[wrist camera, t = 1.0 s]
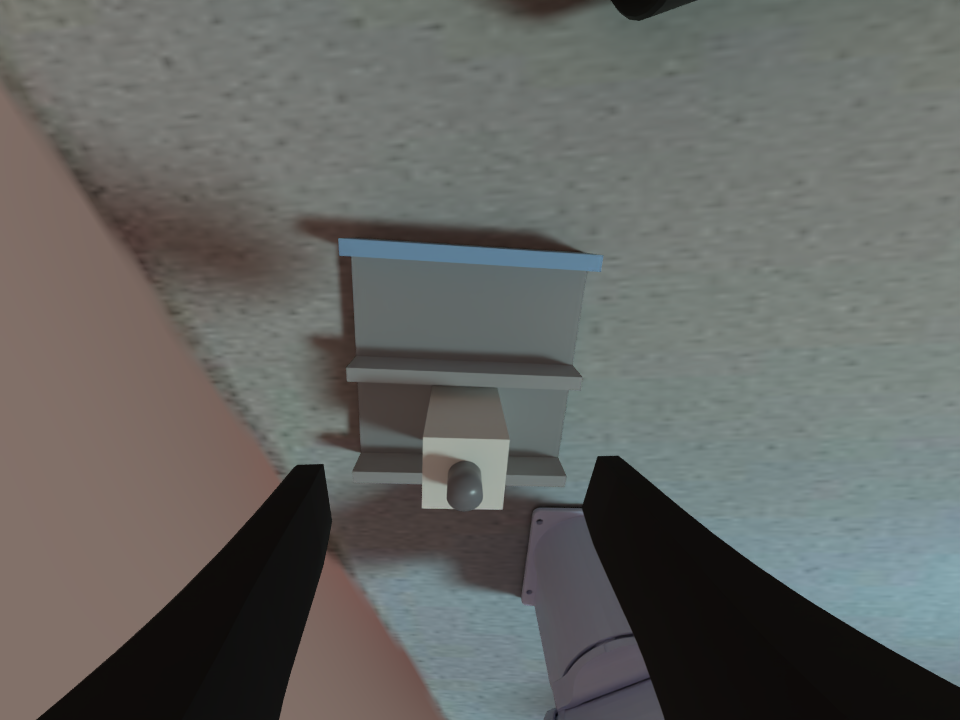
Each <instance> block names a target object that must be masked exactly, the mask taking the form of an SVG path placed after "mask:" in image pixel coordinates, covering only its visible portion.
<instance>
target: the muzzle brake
mask: <svg viewBox="0 0 960 720" xmlns="http://www.w3.org/2000/svg"><path fill="white" fill-rule="evenodd" d="M611 1H612V3H613V4H614V6H615V7H616V8H617V10H618V11H619V12H620V13H621V14H622V15H624V16H625V17H626V18H628V19H629V20H637V21H640V20H643V19H646V18H649V17H652V16H655V15H657V14H660V13H663V12H666V11H668V10H671V9H674V8H677V7H679V6H682V5H685V4H688V3H690V2H693V1H696V0H611Z"/></svg>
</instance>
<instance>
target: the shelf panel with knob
mask: <svg viewBox="0 0 960 720" xmlns="http://www.w3.org/2000/svg"><path fill="white" fill-rule="evenodd" d="M338 242H339V256H351V262H352V282H353V302H354V322H355V342H356V357H355V358H354V359H353V360H352V361H351V363H350V364H349V365H348V366H347V367H346V375H347V382H358V402H359V423H360V443H361V454H360V456H359V458H358V460H357V462H356V465H355V467H354V469H353V471H352V475H353V483H387V484H422V464H423V434H424V429H425V423H426V418H427V412H428V407H429V402H430V396H431V391H432V386H458V387H484V388H498V393H499V397H500V401H501V405H502V409H503V413H504V418H505V422H506V426H507V430H508V434H509V439H510V443H509V452H508V462H507V472H506V481H505V486H537V487H565V482H566V474H565V472H564V470H563V467H562V465H561V463H560V461H559V458H558V456H559V449H560V443H561V436H562V430H563V423H564V417H565V411H566V404H567V398H568V391H569V390H579V391H581V386H582V380H583V377H582V376H581V375H580V373H579V372H578V371H577V370H576V369H575V368H574V366H573V359H574V353H575V346H576V340H577V334H578V327H579V321H580V314H581V308H582V301H583V295H584V289H585V282H586V276H587V271H596V272H601V267H602V261H603V255H597V254H590V253H583V252H568V251H552V250H537V249H522V248H506V247H491V246H476V245H460V244H445V243H430V242H415V241H399V240H384V239H369V238H338Z"/></svg>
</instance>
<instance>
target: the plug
mask: <svg viewBox="0 0 960 720" xmlns="http://www.w3.org/2000/svg"><path fill="white" fill-rule="evenodd" d="M509 443H510V439H509V434H508V430H507V426H506V422H505V418H504V413H503V409H502V405H501V401H500V397H499V393H498V388H484V387H458V386H432V391H431V396H430V402H429V407H428V412H427V418H426V423H425V429H424V434H423V464H422V508H425V509H456V510H458V511H470V510H473V509H489V510H503V501H504V491H505V481H506V472H507V462H508V452H509Z"/></svg>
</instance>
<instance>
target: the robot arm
mask: <svg viewBox="0 0 960 720" xmlns="http://www.w3.org/2000/svg"><path fill="white" fill-rule="evenodd" d="M538 519H541V520H540V521H537V520H538ZM331 524H332V518H331V511H330V504H329V498H328V491H327V484H326V478H325V471H324V464H310V465H297V466H295V467H294V468H293V469H292V470H291V471H290V473H289V474H288V475H287V476H286V477H285V479H284V480H283V481H282V482H281V483H280V485H279V486H278V487H277V489H275V490H274V492H273V493H272V494H271V495H270V496H269V498H268V499H267V500H266V501H265V502H264V503H263V505H262V506H261V507H260V508H259V509H258V510H257V511H256V513H255V514H254V515H253V516H252V517H251V518H250V519H249V520H248V521H247V522H246V524H245V525H244V526H243V527H242V528H241V529H240V530H239V531H238V532H237V534H236V535H235V536H234V537H233V538H232V539H231V540H230V541H229V542H228V544H227V545H225V547H224V548H223V549H222V550H221V551H220V552H219V553H218V554H217V555H216V556H215V557H214V558H213V559H212V560H211V561H210V562H209V563H208V564H207V565H206V566H205V567H204V568H203V569H202V570H201V571H200V572H199V573H198V574H197V575H196V576H195V577H194V578H193V579H192V580H191V581H190V582H189V583H188V584H187V586H186V587H185V588H184V589H183V590H182V591H180V592H179V593H178V594H177V596H175V597H174V598H173V599H172V600H171V601H170V602H169V603H168V604H167V605H166V606H165V607H164V608H163V609H162V610H161V611H160V612H159V613H158V614H157V615H155V617H153V618H152V619H151V620H150V621H149V622H148V623H147V624H146V625H145V626H144V627H143V628H141V630H139V631H138V632H137V633H136V634H135V635H134V636H133V637H132V638H130V639H129V640H128V641H127V642H126V643H125V644H124V645H123V646H122V647H121V648H119V649H118V650H117V651H116V652H115V653H114V654H113V655H111V656H110V657H109V658H108V659H107V660H106V661H105V662H103V663H102V664H101V665H100V666H99V667H98V668H96V669H95V670H94V671H93V672H92V673H91V674H89V675H88V676H87V677H86V678H85V679H84V680H83V681H82V682H80V683H79V684H78V685H77V686H76V687H74V689H72V690H71V691H70V692H69V693H67V694H66V695H65V696H64V697H63V698H62V699H61V700H59V701H58V702H57V703H56V704H54V705H53V706H52V707H51V708H50V709H48V710H47V711H46V712H45V713H44V714H43V715H41V716H40V717H39V718H38V719H36V720H279V717H280V713H281V708H282V704H283V699H284V696H285V692H286V688H287V685H288V681H289V677H290V674H291V670H292V667H293V664H294V660H295V657H296V654H297V650H298V647H299V644H300V641H301V637H302V634H303V631H304V627H305V624H306V621H307V618H308V615H309V611H310V608H311V605H312V601H313V598H314V595H315V592H316V588H317V585H318V582H319V578H320V575H321V572H322V568H323V565H324V560H325V555H326V550H327V545H328V540H329V535H330V529H331ZM521 600H522V603H523V604H524V605H527V606H535V611H536V616H537V621H538V626H539V631H540V636H541V641H542V646H543V651H544V656H545V661H546V666H547V672H548V677H549V681H550V685H551V688H552V691H553V694H554V699H555V704H556V708H554V709H552V710H549V711H548V712H547V713H546V714H545V717H544V720H960V687H958V686H956V685H954V684H952V683H950V682H949V681H947V680H945V679H943V678H941V677H939V676H938V675H936V674H934V673H932V672H930V671H928V670H927V669H925V668H923V667H921V666H919V665H918V664H916V663H914V662H912V661H910V660H908V659H907V658H905V657H903V656H901V655H899V654H898V653H896V652H894V651H892V650H890V649H889V648H887V647H885V646H884V645H882V644H880V643H878V642H877V641H875V640H873V639H871V638H870V637H868V636H866V635H864V634H863V633H861V632H859V631H858V630H856V629H854V628H853V627H851V626H849V625H848V624H846V623H845V622H843V621H841V620H840V619H838V618H836V617H835V616H833V615H831V614H830V613H828V612H827V611H825V610H823V609H822V608H820V607H818V606H817V605H815V604H814V603H812V602H810V601H809V600H807V599H806V598H804V597H803V596H801V595H800V594H798V593H796V592H795V591H793V590H792V589H790V588H789V587H787V586H786V585H784V584H783V583H782V582H780V581H779V580H777V579H776V578H774V577H773V576H771V575H770V574H768V573H767V572H765V571H764V570H762V569H761V568H759V567H758V566H757V565H755V564H754V563H752V562H751V561H750V560H748V559H747V558H745V557H744V556H743V555H741V554H740V553H739V552H737V551H736V550H735V549H733V548H732V547H731V546H729V545H728V544H727V543H725V542H724V541H723V540H721V539H720V538H719V537H717V536H716V535H715V534H713V533H712V532H711V531H709V530H708V529H707V528H706V527H704V526H703V525H702V524H701V523H699V522H698V521H697V520H696V519H694V518H693V517H692V516H691V515H689V514H688V513H687V512H686V511H684V510H683V509H682V508H681V507H680V506H678V505H677V504H676V503H675V502H673V501H672V500H671V499H670V498H669V497H667V496H666V495H665V494H664V493H663V492H661V491H660V490H659V489H658V488H657V487H656V486H654V485H653V484H652V483H651V482H650V481H648V480H647V479H646V478H645V477H644V476H642V475H641V474H640V473H639V472H638V471H637V470H635V469H634V468H633V467H632V466H630V465H629V464H628V463H627V462H626V461H624V460H623V459H622V458H620V457H619V456H598V457H597V460H596V463H595V467H594V470H593V473H592V476H591V480H590V483H589V486H588V489H587V493H586V496H585V499H584V502H583V506H582V508H536V509H535V510H534V511H533V514H532V522H531V529H530V536H529V544H528V551H527V558H526V565H525V573H524V580H523V587H522V595H521Z"/></svg>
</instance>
